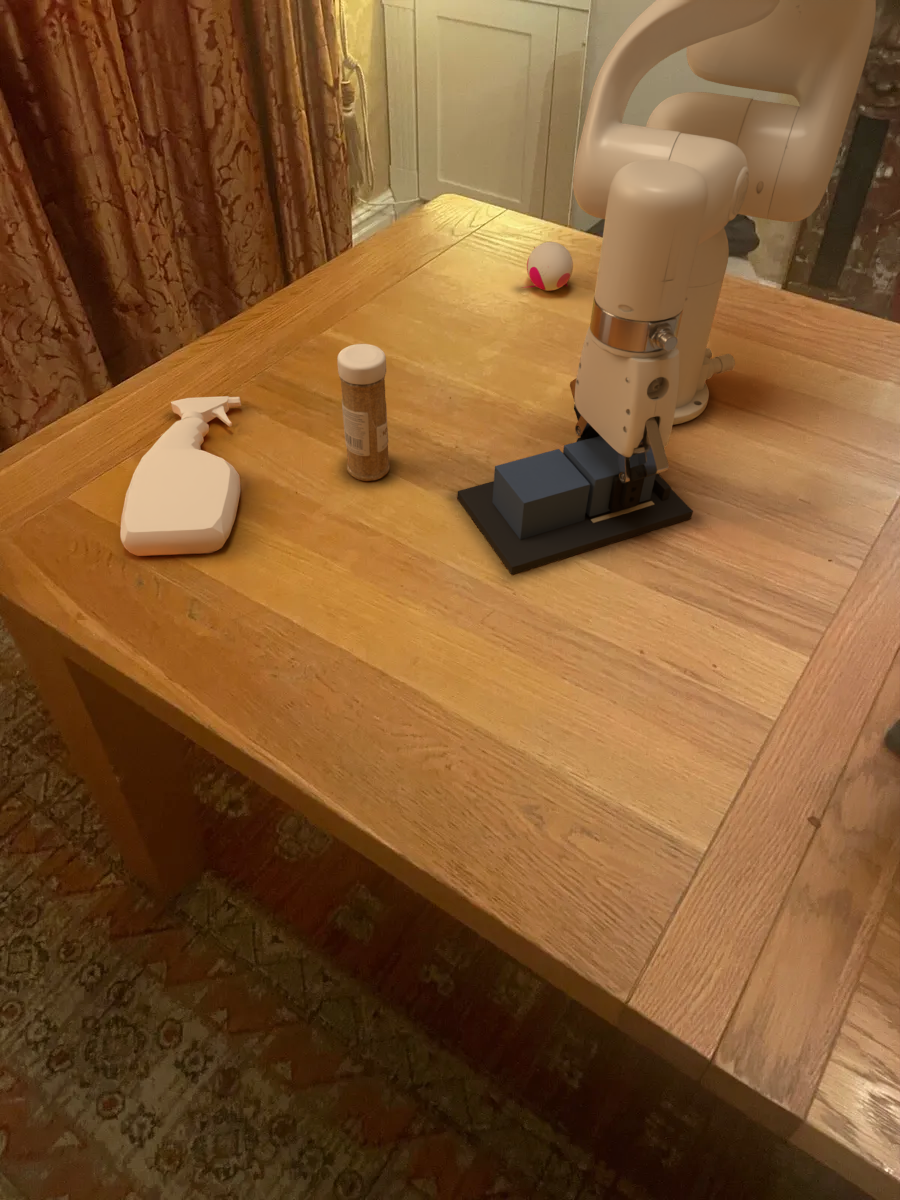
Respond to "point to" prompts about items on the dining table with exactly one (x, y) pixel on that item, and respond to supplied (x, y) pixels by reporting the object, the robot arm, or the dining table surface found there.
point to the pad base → (569, 534)
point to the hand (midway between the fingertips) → (605, 486)
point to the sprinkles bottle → (364, 410)
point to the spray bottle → (182, 487)
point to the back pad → (601, 471)
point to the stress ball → (549, 266)
